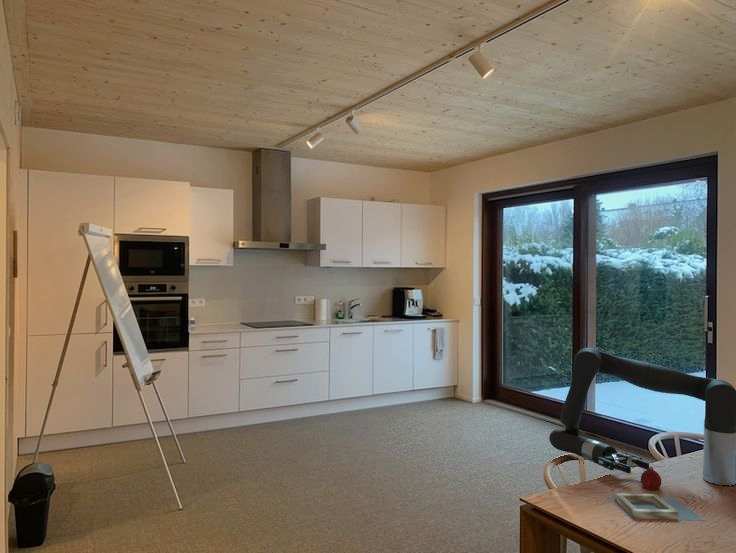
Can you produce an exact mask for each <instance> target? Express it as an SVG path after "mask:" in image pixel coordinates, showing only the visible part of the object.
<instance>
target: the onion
mask: <svg viewBox="0 0 736 553" xmlns="http://www.w3.org/2000/svg"><path fill="white" fill-rule="evenodd" d="M640 483H641V485H642V487H643V488H644V489H647V490H651V491H657V490H659V489H660V488H661V486H662V477H661V475H660V474H659V473H658V471H656V470H655V469H654V467H653V466H649V469H648V470H646V469H645V470H644V471H643V472H642V473H641V476H640Z"/></svg>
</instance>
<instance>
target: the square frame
mask: <svg viewBox="0 0 736 553" xmlns="http://www.w3.org/2000/svg"><path fill="white" fill-rule="evenodd" d="M614 497H615V501H616V502H617V503H618V504H619V505H620V506H622V507H623V508H624V509H625V510H626V511H627V512H628V513H629V514H630V515H631V516H632V517H633V518H634V519H678V511H676V510H675V509H674V508H673V507H671V506H670V505H669V504H667V503H666V502H665V501H664V500H662V499H661V498H660V497H661V496H658V494H656V493H625V492H623V493H621V492H620V493H618V492H616V493H615V492H614ZM630 502H640V503H654V504H655V505H656V506H657V507H658V508H660V509H637V508H636V507H635V506H633V505H632V504H631V503H630ZM634 519H633V520H634Z"/></svg>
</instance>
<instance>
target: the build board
mask: <svg viewBox="0 0 736 553" xmlns="http://www.w3.org/2000/svg"><path fill="white" fill-rule="evenodd" d="M659 497H660V498H661V499H662V500H664V501H665V502H666V503H667V504H669V505H670V506H671V507H673V508H674V509H675V510H676V511H678V519H634V518H633V517H632V516H631V515H630V514H629V513H628V512H627V511H626V510H625V509H624V508H623V507H622V506H620V505H619V504H618V503H617V502H616V501H615V495H614V496H610V495H608V496H607V498H608V499H609V500H611V502H613V503H614V504H615V505H616V506H617V508H619V509H620V510H621V511H622V512H623V513H624V514H625V515H626V516H627V517H629V518H630V520H634V521H635V520H641V521H643V520H647V521H697V522H698V521H699V522H700V521H701V522H702V521H704V522H705V519H704V518H702V517H700V515H698V514H697V513H696V512H694V511H693V510H691V508H689V507H687V506H686V505H685V504H684V503H682V502H681V501H680V500H678V499H676V498H675V497H672V496H671V497H669V496H668V497H666V496H665V497H664V496H662V497H661V496H659ZM630 503H631V504H632V505H633V506H635V507H636V508H637V509H660V508H658V507H657V506H656V505H655V504H654V503H640V502H630Z"/></svg>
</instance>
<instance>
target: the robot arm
mask: <svg viewBox="0 0 736 553" xmlns="http://www.w3.org/2000/svg"><path fill="white" fill-rule="evenodd" d="M573 363H574V364H573V372H572V379H571V382H570V386H569V389H568V393H567V395H566V398H565V401H564V403H563V405H562V406H563V407H562V410H561V413H560V416H559V422H560V423H561V424H562V425H563V426H564V427H565V428H564V429H554V430H552V431H551V432H550V434H549V436H548V439H549V442H550V444H551V447H553V448H554V449H556V450H558V451H562V452H566V453H569V454H573V455H574V454H575V455H577V456H578V457H581V458H584V459H586V460H587V461H589V462H591V463H594V464H596V465H598V466H601V467H602V468H605V469H607V470H609V471H614V470H615V471H621V472H623V473H626V474H631V472H632V471H631V470H632V469H631V468H632V466H634V467H639V468H641V469H644V470H645V471H646V470H648V469H649V467H650V463H649V462H647V461H644V460H643V457H642V456H639V455H636V454H634V453H630V452H624V453H625V454H624V453H622V452H618V451H617V449H616V448H615V447H614V446H612V445H610V444H607V443H604V442H602V441H598V440H595V439H592V438H589V437H586V436H582V435H580V422H581V420H582V416H583V413H584V410H585V406H586V401H587V397H588V393H589V389H590V387H591V384H592V381H593V380H594V379H595V376H596V374H597V373H599V374H605V375H610V376H613V377H616V378H618V379H620V380H623V381H624V382H627V383H629V384H631V385H633V386H636V387H638V388H641V389H644V390H647V391H652V392H657V393H661V394H662V393H663V394H669V395H670V394H671V395H681V396H688V397H692V398H693V399H697V400H700V401H704V402H705V407H704V408H705V413H704V414H705V415H704V421H703V422H704V423H703V426H704V427H703V455H702V462H703V463H702V464H703V465H702V470H703V471H702V479H703V480H704V481H706V482H707V481H708V483H710V484H713V483H714V484H713V485H718V486H722V485H726V486H725V487H732V486H731V485H734V486H735V484H736V388H735V387H734V386H733V385H732V384H731V383H730V382H728V381H726V380H723V379H717V378H711V377H710V378H709V377H703V376H698V375H692V374H689V373H685V372H682V371H680V370H677V369H673V368H670V367H666V366H663V365H659V364H655V363H650V362H646V361H641V360H638V359H637V360H636V359H633V358H627V357H622V356H616V355H614V354H611V353H608V352H605V351H602V350H599V349H596V348H594V347H583V348H581V349H579V350H578V351H577V353H576V354H575V356H574V359H573ZM727 485H729V486H727Z"/></svg>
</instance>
